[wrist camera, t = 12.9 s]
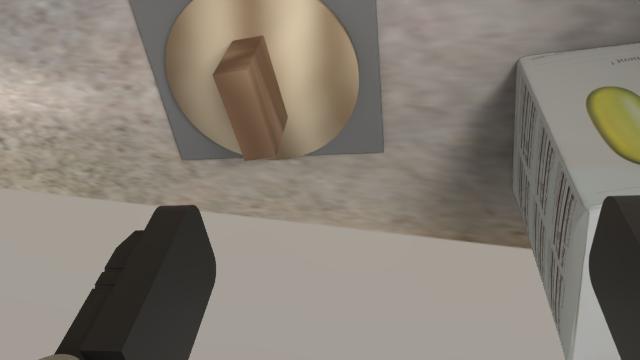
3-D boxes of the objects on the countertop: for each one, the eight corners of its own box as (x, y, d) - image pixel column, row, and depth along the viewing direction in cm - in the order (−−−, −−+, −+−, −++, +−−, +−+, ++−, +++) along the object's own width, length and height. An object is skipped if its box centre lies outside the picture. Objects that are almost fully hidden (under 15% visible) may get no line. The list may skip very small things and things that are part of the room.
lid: (338, -43, 35) (328, -11, 30) (374, 141, 44) (371, 190, 39) (138, -2, 39) (99, 33, 34) (208, 162, 47) (186, 209, 42)
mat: (373, -48, 36) (373, -46, 35) (383, 148, 45) (383, 152, 45) (125, -25, 38) (122, -22, 38) (184, 156, 48) (182, 160, 47)
